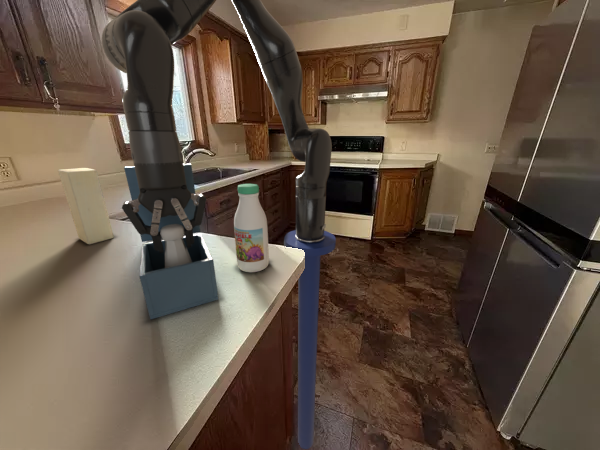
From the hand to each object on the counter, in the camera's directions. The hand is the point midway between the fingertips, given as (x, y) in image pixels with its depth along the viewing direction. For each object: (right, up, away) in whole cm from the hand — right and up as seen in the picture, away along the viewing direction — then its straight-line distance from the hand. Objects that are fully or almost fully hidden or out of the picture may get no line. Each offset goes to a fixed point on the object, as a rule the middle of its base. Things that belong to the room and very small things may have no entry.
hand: (175, 248), depth 48 cm
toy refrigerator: (-38, 0, +28) cm, 48 cm away
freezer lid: (-3, +9, +3) cm, 10 cm away
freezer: (0, -9, +3) cm, 9 cm away
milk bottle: (+13, -6, +13) cm, 19 cm away
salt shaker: (0, -8, +3) cm, 8 cm away
